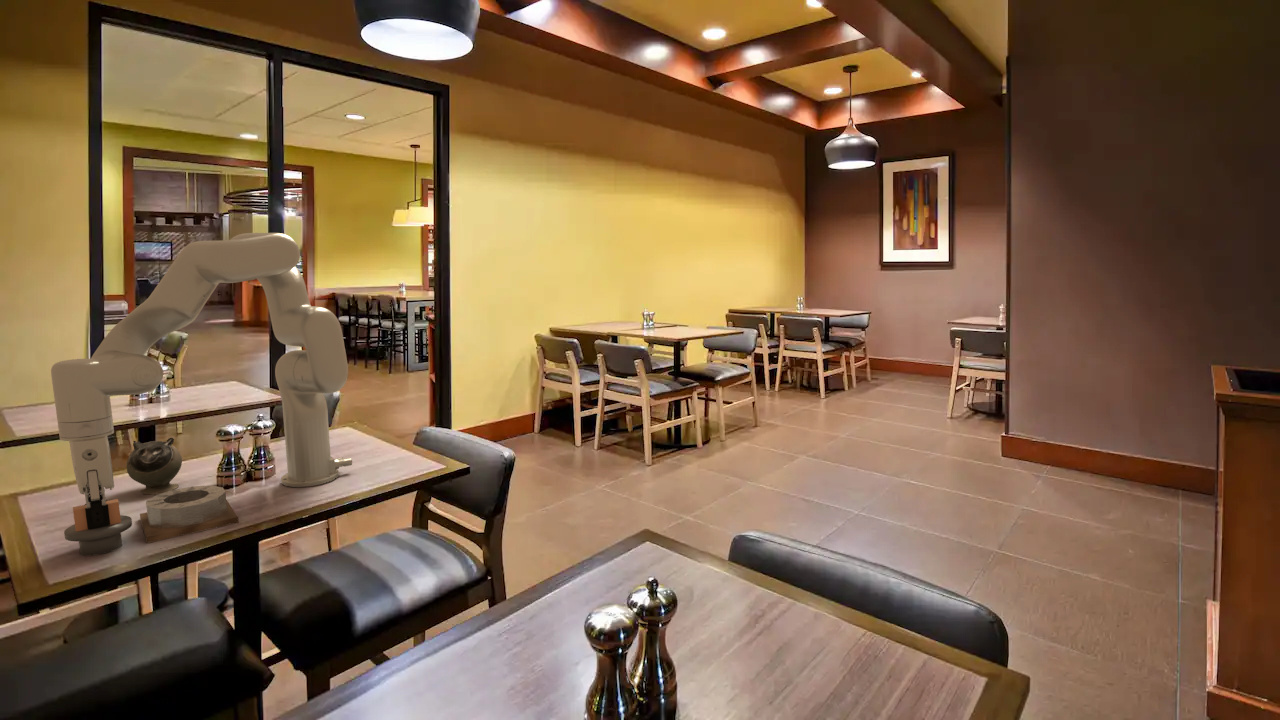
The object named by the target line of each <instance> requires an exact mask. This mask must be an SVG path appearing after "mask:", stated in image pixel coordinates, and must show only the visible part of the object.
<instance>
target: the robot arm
mask: <svg viewBox="0 0 1280 720" xmlns="http://www.w3.org/2000/svg"><path fill="white" fill-rule="evenodd" d="M300 250H301V249H300V247H299V245H298V243H297V242H296V241H295V240H294V239H293V238H292V237H291V236H289V235H288V234H285V233H282V232H281V233H280V232H246V233H240V234H237V235H235V236H233V237H231V238H230V239H226V240H198V241H193V242H190V243H188V244H187V245H186V246H184V248H182V250H181V251H180V252H179V253H178V255H177V257H176V258H175V259H174V260H173V262H172V263H171V265H170V267H169V268H167V269H168V270H167V271H166V272H165V273H164V275H163V277H162V278H161V279H160V281H159V283H158V284H157V285H156V287H154V290H153V291H152V292H151V294H150V295H149V296H148V298H146V299H145V300H144V301H143V302H142V303H141V304H139V305H138V306H137V307H135V308H134V309H133V310H132V311H131V312H130V313H129V314H127V315H126V316H125V317H123V318H122V319H121V320H119V322H118V323H116V325H114V326H113V328H112V329H111V330H110V331H108V333H107V334H106V336H105V337H104V338H103V340H102V341H101V342H100V344H99V346H98V347H97V348H96V350H94V353H93V354H92V356H91V358H73V359H66V360H61V361H60V360H59V361H58V362H55V363H54V364H53V365H52V366H51V369H50V374H51V375H50V376H51V382H52V391H53V398H54V406H55V411H56V418H57V419H56V420H57V421H56V422H57V429H58V434H59V440H60V441H63V442H69V448H70V449H69V451H70V456H71V461H72V462H71V463H72V469H73V473H74V477H75V481H76V485H77V488H78V492H79V494H81V495H84V498H85V504H84V505H86V507H87V508H85V512H86V520H87V528H88V529H89V530H91V529H96V528H101V527H106V526H109V525H110V518H109V510H108V504H106V501H108V499H106V494H105V491H106V490H108V489H109V490H110V491H112V490H113V489H114V488H115V481H114V473H113V471H114V470H113V465H112V457H111V449H110V442H109V439H108V436H111V435H112V434H114V433H115V430H114V422H113V419H114V418H113V412H112V406H111V405H112V404H111V397H113V396H124V395H126V396H128V395H129V396H130V395H131V396H132V395H143V394H147V393H149V392H152V391H153V390H155V389H156V388H158V386H159V385H160V384H161V383H162V381H163V378H164V369H163V367H162V365H161V364H160V363H159V362H158V361H157V360H156V359H155V358H152V357H150V356H148V355H145V354H146V353H147V351H148V350H149V349H150V348H151V347H152V346H153V345H154V344H156V343H157V342H158V341H160V340H161V339H162V338H164V337H165V336H167V335H169V334H172V333H174V332H176V331H178V330H181V329H183V328H185V327H187V326H189V325H190V324H191V323H193V322H194V321H195V320H196V319H197V317H198V316H199V314H200V313H201V311H202V310H203V309H204V306H205V305H206V303H207V302H208V300H209V299H210V297H211V296H212V294H213V293H214V291H215V290H216V288H217V287H218V285H219V284H220V283H221V284H223V283H224V284H233V283H240V282H247V281H252V280H257V281H258V282H259V284H261V286H262V289H263V291H264V295H265V298H266V302H267V307H268V312H269V317H270V322H271V327H272V331H273V334H274V337H275V338H276V340H277V341H278V342H279V343H280V344H283V345H286V346H290V347H292V346H293V347H301V348H305V349H304V350H303V349H298V350H297V349H296V350H290V351H288V352H286V353H284V354H283V355H281V356H280V358H279V359H278V360H277V362H276V364H275V369H274V370H275V371H274V372H275V374H274V375H275V381H276V383H277V388H278V390H279V394H280V398H281V405H282V407H281V408H282V414H283V416H282V417H283V428H284V429H283V430H284V432H283V433H284V442H285V454H286V465H287V466H286V468H287V473H285V474H283V475H282V476H281V477H280V482H281V484H282V485H284V486H286V487H290V488H304V487H307V488H308V487H313V485H314V486H319V485H323V483H324V484H327V483H330V482H331V481H335V480H336V479H337V478H338V477H339V476H340V472H339V469H340V467H341V468H342V467H349V466H352V465H353V460H352V457H346V458H344V457H338V458H334V457H332V456H331V443H330V442H331V440H330V429H329V427H330V426H329V414H328V413H329V412H328V404H327V400H326V397H325V395H324V394H335V393H337V392H338V391H340V390H342V388H343V387H344V386H345V385H346V384H347V381H348V375H349V364H348V360H347V359H348V357H347V353H346V351H347V350H346V348H345V341H344V335H343V329H342V326H341V323H340V322H339V319H338V317H337V316H336V315H335V314H334V312H332V311H331V310H330V309H328V308H325V307H322V306H315V305H313V306H312V305H311V302H310V298H309V294H308V290H307V286H306V282H305V280H304V277H303V275H302V273H301V272H300V270H299V269H298V267H297V264H298V263H299V260H300V255H301V251H300ZM335 478H336V479H335ZM329 481H330V482H329ZM326 482H327V483H326ZM90 506H91V507H90Z"/></svg>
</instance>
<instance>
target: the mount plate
mask: <svg viewBox="0 0 1280 720" xmlns="http://www.w3.org/2000/svg"><path fill="white" fill-rule="evenodd" d="M226 501H227V511H226V512H224V513H223V514H222V515H221V516H220V517H217V518H215V519H212V520H209V521H207V522H204V523H200V524H196V525H191V526H186V527H180V528H165V529H162V528H156V527H151V526H150V525H149V521H148V515H147V511H146V512H143V513H139V520H140V522H141V526H142V530H143V533H144V538H145V542H146V544H148V543H153V542H157V541H162V540H166V539H171V538H175V537H179V536H180V537H181V536H184V535H189V534H194V533H197V532H202V531H207V530H211V529H215V528H216V527H217V528H221V527H225V526H229V525H234V524H239V516H238V514H237V513H236V511H235V510H234V508H233V507H232V506H231V504H230V503H229V500H228V499H227V498H226ZM217 528H216V529H217Z"/></svg>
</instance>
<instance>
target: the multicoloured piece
mask: <svg viewBox="0 0 1280 720" xmlns="http://www.w3.org/2000/svg"><path fill="white" fill-rule="evenodd" d="M106 504H108V510H109V518H110V525H109V526H106V527H101V528H96V529H91V530H89V529H88V528H87V520H86V512H85V508H87V507H86V505H85V504H83V505H78V506H73V507H72V514H73V519H74V524H73V525H70V526H68V527H67V528H65V529H64V531H63V532H64V534H63V535H64V540H66V541H69V542H78V545H79V553H80V555H81V556H86V555H91V556H99V555H102V554H107V553H111V552H112V551H115V550H117V549H120V547H122V546H123V540H122V533H123V532H125V531H127V530H129V529H130V528H131V527H132V526H133V519H132V517H130V516H128V515H122V514H121V510H120V503H119V498H116V499H111V500H107V501H106ZM90 507H91V506H90Z"/></svg>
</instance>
